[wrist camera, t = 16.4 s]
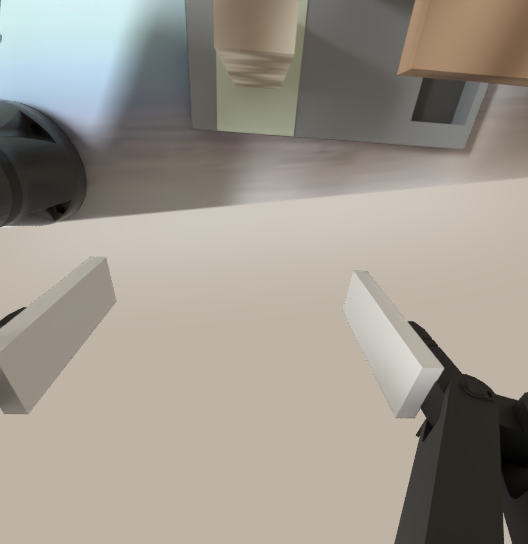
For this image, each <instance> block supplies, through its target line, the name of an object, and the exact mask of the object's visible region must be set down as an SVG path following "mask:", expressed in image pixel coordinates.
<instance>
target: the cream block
mask: <svg viewBox="0 0 528 544" xmlns="http://www.w3.org/2000/svg"><path fill="white" fill-rule="evenodd" d="M298 10H299V0H213V11H214V48H215V50H216V52H217V53H218V55H219V57H220V59H221V61H222V63H223V65H224V66H225V68H226V70H227V72H228V74H229V76H230V78H231V79H232V81H233V83H234V85H235V86H243V87H254V88H266V89H278V90H280V89H281V87H282V84H283V82H284V79H285V76H286V74H287V71H288V69H289V66H290V64H291V61H292V59H293V56H294V52H295V41H296V31H297V20H298Z"/></svg>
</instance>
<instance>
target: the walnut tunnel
mask: <svg viewBox="0 0 528 544" xmlns="http://www.w3.org/2000/svg"><path fill="white" fill-rule="evenodd" d="M397 75H400V76H412V77H423V78H435V79H447V80H458V81H470V82H481V83H493V84H505V85H516V86H528V0H415V3H414V7H413V12H412V16H411V20H410V24H409V28H408V32H407V36H406V40H405V44H404V48H403V52H402V56H401V60H400V65H399V69H398V73H397Z"/></svg>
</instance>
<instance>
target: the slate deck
mask: <svg viewBox="0 0 528 544" xmlns="http://www.w3.org/2000/svg"><path fill="white" fill-rule="evenodd" d="M414 3H415V0H299V10H298V20H297V31H296V41H295V52H294V56H293V59H292V61H291V64H290V66H289V69H288V71H287V74H286V76H285V79H284V82H283V84H282V87H281V89H280V90H278V89H266V88H254V87H243V86H235V85H234V83H233V81H232V79H231V78H230V76H229V74H228V72H227V70H226V68H225V66H224V65H223V63H222V61H221V59H220V57H219V55H218V53H217V52H216V50H215V48H214V11H213V0H185V10H186V28H187V47H188V66H189V84H190V103H191V122H192V129H200V130H213V131H226V132H239V133H253V134H266V135H279V136H292V137H305V138H318V139H332V140H345V141H358V142H371V143H384V144H398V145H411V146H424V147H437V148H450V149H464V148H465V145H466V143H467V140H468V138H469V135H470V132H471V130H472V127H473V125H474V122H475V119H476V117H477V114H478V111H479V109H480V106H481V104H482V101H483V98H484V96H485V93H486V91H487V88H488V85H489V83H481V82H470V81H458V80H447V79H435V78H423V77H412V76H400V75H397V73H398V69H399V65H400V60H401V56H402V52H403V48H404V44H405V40H406V36H407V32H408V28H409V24H410V20H411V16H412V12H413V7H414Z"/></svg>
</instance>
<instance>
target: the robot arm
mask: <svg viewBox="0 0 528 544" xmlns="http://www.w3.org/2000/svg"><path fill="white" fill-rule="evenodd" d="M0 7H1V0H0ZM1 41H2V35H1V34H0V42H1ZM85 193H86V175H85V171H84V167H83V164H82V161H81V159H80V156H79V154H78V152H77V151H76V149H75V147H74V145H73V144H72V142H71V141H70V140H69V138H68V137H67V136H66V135H65V133H64V132H63V131H62V130H61V129H60V128H59V127H58V126H57V125H56V124H55V123H54V122H52V121H51V120H50V119H49V118H47V117H46V116H45V115H43V114H42V113H40V112H38V111H37V110H35V109H33V108H31V107H29V106H26V105H24V104H21V103H18V102H14V101H8V100H1V99H0V227H2V226H43V225H49V224H53V223H56V222H58V221H61V220H63V219H66V218H68V217H70V216H71V215H73V214H74V213H75V212H76V211H77V210H78V209H79V207H80V206H81V204H82V202H83V200H84V197H85ZM115 303H116V297H115V293H114V288H113V284H112V280H111V276H110V272H109V268H108V264H107V259H106V257H90V258H88V259H87V260H86V261H85V262H83V263H82V264H81V265H80V266H78V267H77V268H76V269H75V270H73V271H72V272H71V273H70V274H68V275H67V276H66V277H64V278H63V279H62V280H61V281H60V282H58V283H57V284H56V285H55V286H53V287H52V288H51V289H49V290H48V291H47V292H46V293H45V294H43V295H42V296H41V297H39V298H38V299H37V300H36V301H34V303H32V304H31V305H30V306H28V307H23V308H21V309H19V310H17V311H15V312H13V313H11V314H9V315H7V316H6V317H5V318H3V319H2V320H1V321H0V408H1V410H2V411H3V413H4V414H29V413H30V411H31V410H32V409H33V407H34V406H35V405H36V404H37V402H38V401H39V400H40V398H41V397H42V396H43V395H44V393H45V392H46V391H47V390H48V388H49V387H50V386H51V384H52V383H53V382H54V381H55V379H56V378H57V377H58V375H59V374H60V373H61V371H62V370H63V369H64V368H65V367H66V365H67V364H68V363H69V361H70V360H71V359H72V358H73V356H74V355H75V354H76V352H77V351H78V350H79V349H80V347H81V346H82V345H83V344H84V342H85V341H86V340H87V338H88V337H89V336H90V335H91V333H92V332H93V330H94V329H95V328H96V327H97V325H98V324H99V323H100V322H101V320H102V319H103V318H104V317H105V315H106V314H107V313H108V311H109V310H110V309H111V307H112V306H113V305H114V304H115ZM343 312H344V315H345V317H346V318H347V321H348V323H349V325H350V327H351V329H352V331H353V333H354V335H355V337H356V339H357V341H358V343H359V345H360V347H361V349H362V351H363V353H364V355H365V357H366V359H367V361H368V364H369V366H370V368H371V369H372V371H373V373H374V376H375V378H376V380H377V382H378V384H379V386H380V388H381V390H382V392H383V394H384V396H385V398H386V400H387V402H388V404H389V406H390V408H391V410H392V412H393V414H394V417H395V418H415V416H416V415H417V413H418V412H419V410H420V408H421V410H422V411H423V413H424V415H425V416H426V420H425V421H424V423H423V424H422V426H421V428H420V429H419V431H418V432H417V434H416V436H417V437H419V436H420V439H419V443H418V447H417V451H416V455H415V459H414V463H413V468H412V472H411V477H410V481H409V485H408V489H407V493H406V497H405V501H404V506H403V510H402V514H401V518H400V523H399V527H398V531H397V535H396V539H395V543H394V544H504V530H503V513H504V517H505V520H506V524H507V527H508V530H509V534H510V537H511V541H512V544H528V392H527V393H524V395H523V396H522V397H521V398H520V399H519V400H514V399H511V398H507V397H504V396H500V395H496V394H495V393H494V392H493V391H492V389H491V388H489V387H488V386H487V385H486V384H485V383H483V382H482V381H480V380H478V379H477V378H475V377H472V376H469V375H467V374H462V373H461V372H460V371H459V369H458V368H457V367H456V366H455V365H454V364H453V362H452V361H451V360H450V359H449V358H448V357H447V355H446V354H445V353H444V352H443V351H442V350H441V348H440V347H438V345H437V344H436V342H435V341H434V340H432V338H431V337H430V336H429V334H428V333H427V332H426V331H425V329H423V328H422V327H421V326H419V325H418V324H416V323H415V322H413V321H412V322H411V321H406V319H405V318H404V317H403V316H402V314H401V313H400V312H399V311H398V309H397V308H396V307H395V305H394V304H393V303H392V302H391V300H390V299H389V298H388V297H387V295H386V294H385V293H384V292H383V290H382V289H381V288H380V287H379V286H378V284H377V283H376V282H375V280H374V279H373V278H372V277H371V275H370V274H369V273H368V272H367V271H353V275H352V278H351V282H350V286H349V289H348V293H347V297H346V300H345V303H344V307H343Z"/></svg>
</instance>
